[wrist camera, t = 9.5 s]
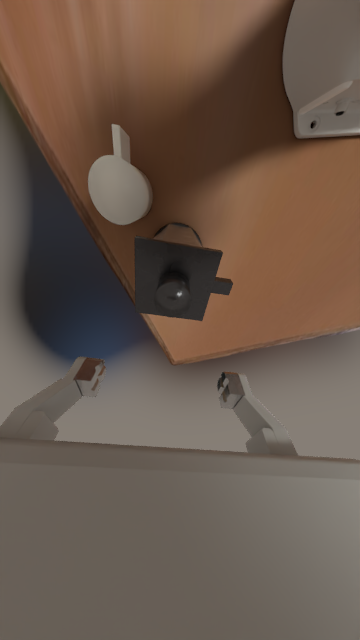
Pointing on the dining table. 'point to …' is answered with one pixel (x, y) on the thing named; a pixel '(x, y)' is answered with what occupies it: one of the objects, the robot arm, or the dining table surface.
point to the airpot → (177, 268)
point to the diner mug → (119, 184)
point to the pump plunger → (173, 295)
